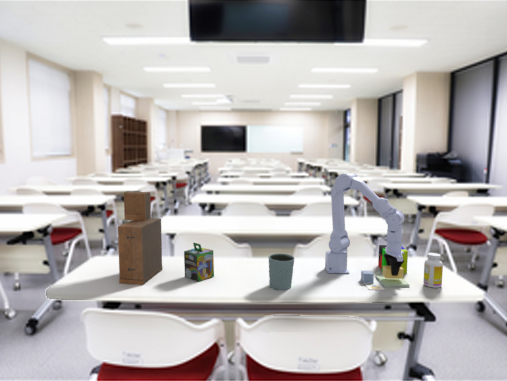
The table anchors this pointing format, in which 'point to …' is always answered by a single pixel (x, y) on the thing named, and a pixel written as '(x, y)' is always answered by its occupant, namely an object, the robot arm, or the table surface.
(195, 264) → the multicoloured upright box
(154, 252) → the brown stacked boxes
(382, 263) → the puzzle toy
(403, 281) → the baseplate
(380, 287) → the page
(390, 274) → the ochre brick
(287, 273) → the green cup
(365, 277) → the blue cube
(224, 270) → the table surface
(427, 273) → the supplement bottle
